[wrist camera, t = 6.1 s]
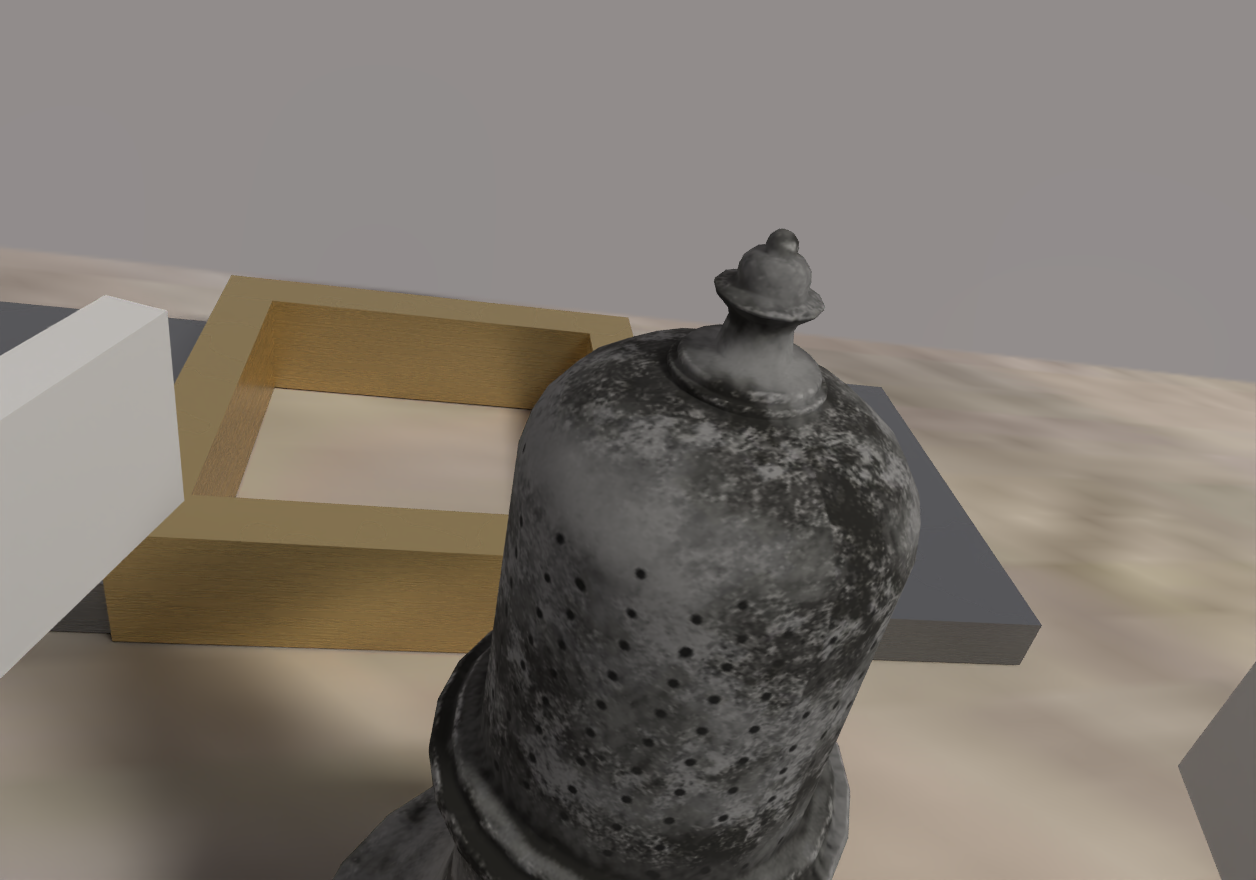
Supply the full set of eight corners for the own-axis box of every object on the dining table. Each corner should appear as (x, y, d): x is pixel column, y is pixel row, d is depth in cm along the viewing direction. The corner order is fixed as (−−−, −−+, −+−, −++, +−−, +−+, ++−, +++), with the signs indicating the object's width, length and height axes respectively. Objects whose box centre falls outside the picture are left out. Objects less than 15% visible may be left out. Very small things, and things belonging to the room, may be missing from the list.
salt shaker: (650, 863, 15) (887, 112, 9) (855, 1309, 11) (1591, 474, 5) (262, 978, 13) (211, 56, 7) (330, 1611, 9) (375, 704, 2)
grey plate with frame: (-419, 623, 16) (-489, 501, 14) (-100, 330, 24) (-124, 237, 23) (1023, 671, 21) (1072, 586, 20) (866, 417, 29) (893, 346, 28)
